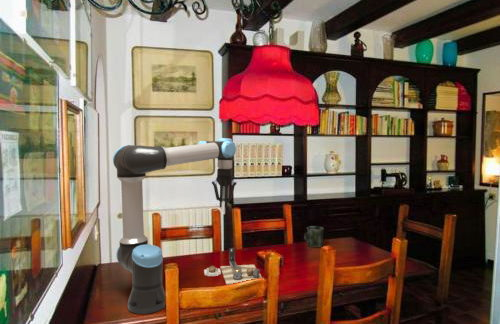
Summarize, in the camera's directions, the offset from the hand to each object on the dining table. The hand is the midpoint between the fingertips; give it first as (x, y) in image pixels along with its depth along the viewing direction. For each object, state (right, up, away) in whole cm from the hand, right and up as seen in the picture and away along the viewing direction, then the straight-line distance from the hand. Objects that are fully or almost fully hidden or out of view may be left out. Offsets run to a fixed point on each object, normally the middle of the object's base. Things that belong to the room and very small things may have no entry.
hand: (223, 213), depth 180 cm
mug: (+55, -29, +49) cm, 79 cm away
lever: (+7, -28, -6) cm, 30 cm away
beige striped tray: (+9, -30, -6) cm, 32 cm away
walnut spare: (-5, -29, -5) cm, 30 cm away
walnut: (+14, -29, -10) cm, 33 cm away
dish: (-5, -30, -5) cm, 31 cm away
